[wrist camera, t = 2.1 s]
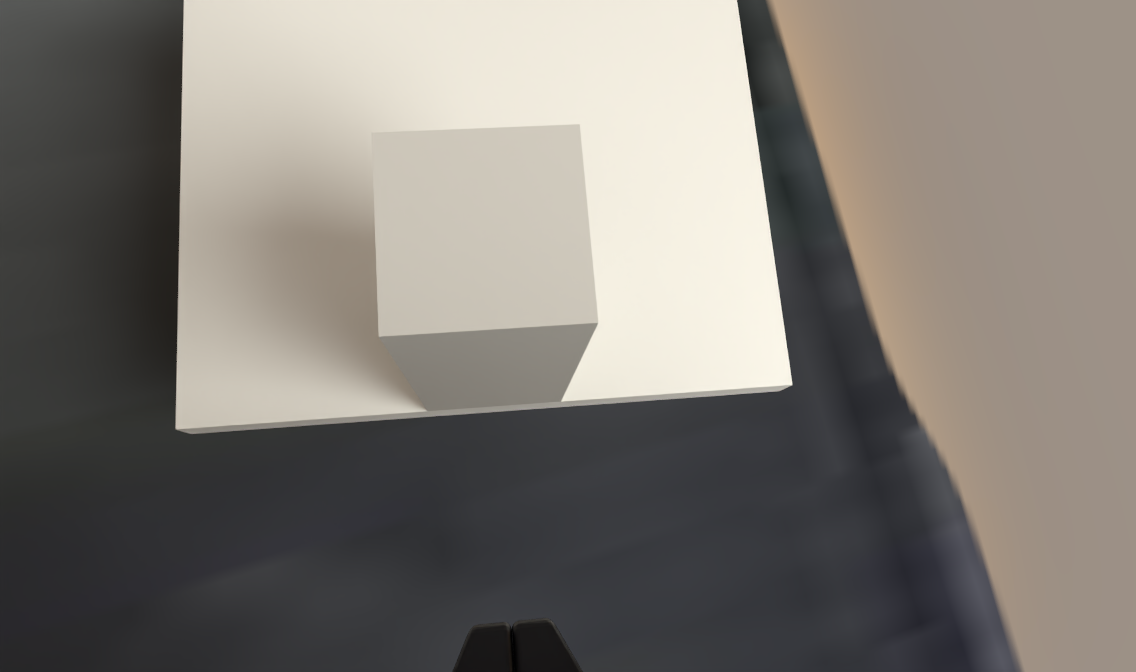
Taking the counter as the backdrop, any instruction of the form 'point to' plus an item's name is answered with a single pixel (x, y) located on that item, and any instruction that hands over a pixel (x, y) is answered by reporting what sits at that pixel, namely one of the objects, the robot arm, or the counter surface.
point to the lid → (467, 210)
